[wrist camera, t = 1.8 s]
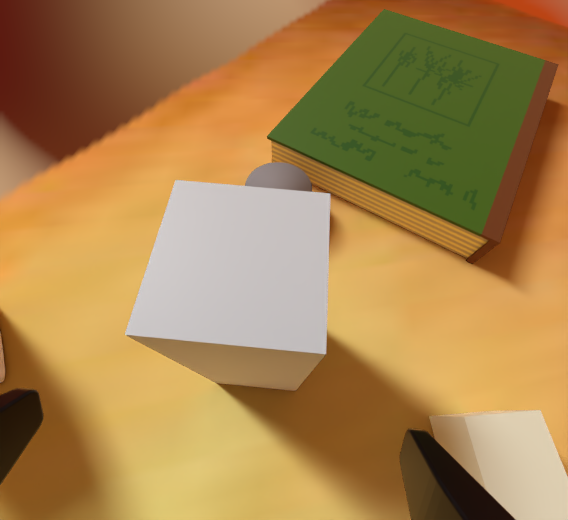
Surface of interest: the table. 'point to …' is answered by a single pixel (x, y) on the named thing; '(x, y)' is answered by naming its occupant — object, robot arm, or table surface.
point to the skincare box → (1, 362)
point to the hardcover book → (421, 130)
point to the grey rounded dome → (279, 177)
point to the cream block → (509, 459)
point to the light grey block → (238, 284)
